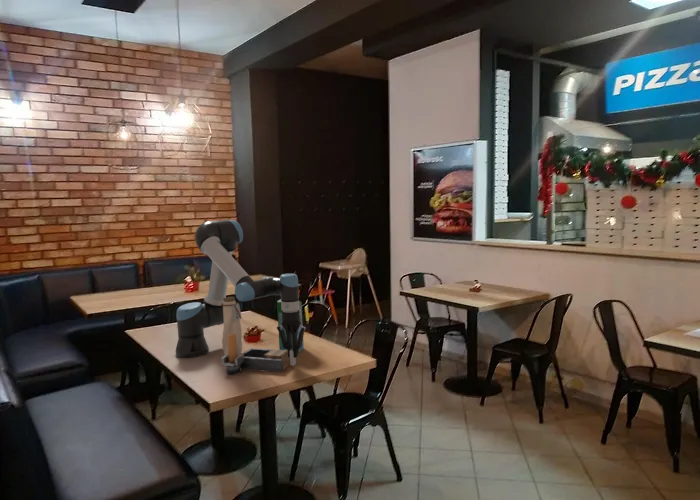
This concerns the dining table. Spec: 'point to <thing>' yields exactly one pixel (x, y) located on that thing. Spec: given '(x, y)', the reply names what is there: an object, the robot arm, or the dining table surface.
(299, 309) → the milk carton
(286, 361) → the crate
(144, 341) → the dining table surface
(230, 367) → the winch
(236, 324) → the water bottle
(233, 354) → the handle peg
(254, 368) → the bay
